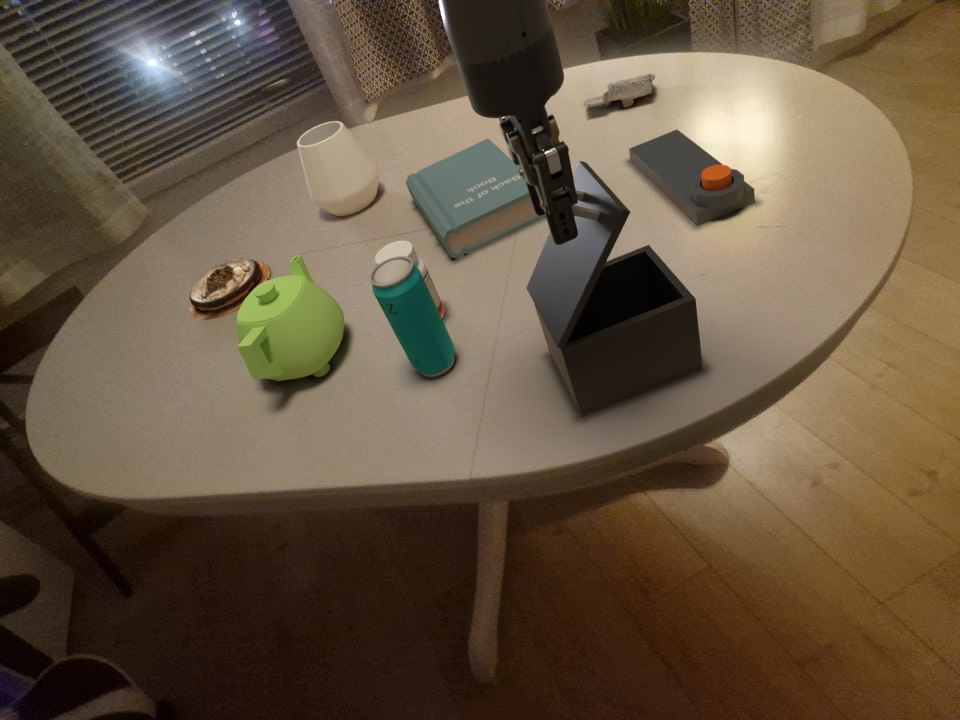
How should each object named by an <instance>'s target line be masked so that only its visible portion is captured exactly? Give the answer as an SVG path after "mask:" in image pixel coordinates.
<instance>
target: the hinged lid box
mask: <svg viewBox="0 0 960 720" xmlns="http://www.w3.org/2000/svg"><path fill="white" fill-rule="evenodd" d="M533 304H534V303H533ZM533 306H534V307H535V311H536V314H537V317H538V320H539V323H540V326H541V329H542V332H543V336H544V339H545V342H546V346H547V349H548V351H549V354H550V357H551V359H552V361H553V363H554V365H555V367H556V369H557V371H558V373H559V375H560V377H561V379H562V381H563V383H564V385H565V387H566V389H567V391H568V393H569V395H570V397H571V399H572V401H573V403H574V405H575V407H576V410H577V411H578V413H579V415H580V417H585V416H587V415H590V414H593V413H595V412H598V411H600V410H602V409H606V408H608V407H610V406H613V405H615V404H618V403H621V402H623V401H625V400H628V399H631V398H634V397H636V396H638V395H641V394H643V393H646V392H649V391H652V390H653V389H656V388H658V387H659V388H660V387H661V386H664V385H667V384H669V383H672V382H675V381H676V380H679V379H681V378H685V377H686V376H689V375H692V374H694V373H697V372H699V371H703V357H702V347H701V337H700V328H699V327H700V326H699V317H698V309H697V299H696V297H695V296H694V295H693V294H692V292H691V291H690V290H689V289H688V288H687V287H686V286H685V284H684V283H683V282H682V281H681V280H680V279H679V277H677V275H676V274H675V273H674V272H673V271H672V270H671V268H670V267H669V266H668V265H667V264H666V263H665V261H663V259H662V258H661V257H660V256H659V255H658V253H657V252H656V251H655V250H654V249H653V248H652V246H651V245H650V244H647V245H644V246H642V247H639V248H637V249H635V250H631V251H629V252H627V253H624V254H621V255H620V256H617V257H615V258H612V259H608V260H607V261H606V263H605V265H604V267H603V270H602V272H601V274H600V276H599V278H598V280H597V282H596V284H595V286H594V288H593V290H592V292H591V294H590V296H589V298H588V300H587V302H586V304H585V306H584V309H583V311H582V313H581V315H580V317H579V319H578V321H577V323H576V325H575V327H574V329H573V331H572V333H571V335H570V337H569V339H568V341H567V343H566V346H565V348H558V347H557V346H556V344H555V342H554V340H553V338H552V337H551V335H550V333H549V331H548V329H547V327H546V325H545V323H544V321H543V319H542V317H541V315H540V313H539V311H538V310H537V308H536V306H535V304H534V305H533Z"/></svg>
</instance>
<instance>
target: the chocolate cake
mask: <svg viewBox="0 0 960 720" xmlns="http://www.w3.org/2000/svg"><path fill="white" fill-rule="evenodd" d="M270 279H271V267H270V266H269V265H268V263H266V262H263V261H260V260H254V259H253V258H249V257H248V258H247V259H245V258H243V257H238V258H237V257H236V258H233V259H227V260H225V263H222V264H219V265H218V266H217V263H216V264H215V265H214V266H212V267H211V268H210V269H208V271H206V272H205V273H204V274H202V275H201V276H200V277H199V278H198V279H197V281H196V282H195V284H194V285H193V287H192V288H191V290H190V293H189V297H188V299H189V302H190V305H189V310H190V313H191V315H192V316H193V317H195V318H197V319H199V320H212V319H217V318H220V317H221V318H222V317H224V316H226V315H228V314H231V313H233V312H235V311H237V310H239V309H240V307H241V305H242V303H243V301H244V300H245V299H246V297H247V296H248V295H249V294H250V293H251V291H252V290H253V289H255V288H256V287H257V286H258V285H260V284H261V283H263V282H265V281H267V280H270Z"/></svg>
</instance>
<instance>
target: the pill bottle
mask: <svg viewBox="0 0 960 720" xmlns="http://www.w3.org/2000/svg"><path fill="white" fill-rule="evenodd" d="M396 256H406V257H409V258H410V259H411V260H412V261H413V264H414V265H415V266H416V267H417V268H419V270H420V272H421V274H422V276H423V279H424V281H425V283H426V285H427V287H428V290H429V292H430V294H431V296H432V298H433V301H434V303H435V305H436V307H437V309H438V311H439V314H440V316H441V318H442V319H444V315H445V307H444V304H443V302H442V299H441V297H440V295H439V293H438V291H437V289H436V286H435V283H434V281H433V279H432V277H431V275H430V272H429V270H428V267H427V265H426V263H425V262H424V260H423V259H421V258H420V257H419V256H418V253H417V251H416V250H415V248H414V245H413V244H412V242H410V241H408V240H397V241H392V242H391V243H388V244H386V245H384V246H383V247H382V248H380V249H379V250H378V251H377V253H376V254H375V256H374V262H375V264H376V266H377V265H378V264H380V263H381V262H383V261H385V260H387V259H389V258H392V257H396Z"/></svg>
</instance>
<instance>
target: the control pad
mask: <svg viewBox="0 0 960 720" xmlns="http://www.w3.org/2000/svg"><path fill="white" fill-rule="evenodd" d="M628 152H629V160H630V162H631V163H632V164H633V165H634V166H635V167H636V168H637V169H638V170H639V171H640V172H641V173H642V174H643V175H644V176H645V177H646V178H647V179H648V180H649V181H650V182H651V183H652V184H654V185H655V187H657V188H658V189H659V190H660V191H661V192H662V194H664V195H665V196H666V197H667V198H668V200H670V201H671V202H672V203H673V204H674V205H675V206H676V207H677V208H678V209H680V210H681V211H682V212H683V214H685V215H686V216H687V217H688V218H689V219H690V220H691V221H692V222H693V223H694V224H695V225H696V226H700V225H703V224H706V223H708V222H711V221H714V220H716V219H718V218H721V217H723V216H726V215H729V214H730V213H733V212H736V211H739V210H741V209H744V208H745V207H749V206H750V205H753V204H755V203H756V200H755V199H756V198H755V197H756V196H755V195H756V194H755V188H754V187H753V186H752V185H750V184H749V183H748V182H746V181H745V175H744V174H743V173H742V172H741V171H739V170H738V169H735V168H731V174H732V183H731V185H730V186H729V187H728V188H725V189H723V190H718V191H707V190H705V189H704V188H703V187H702V176H701V174H702V172H703V170H705V169H706V168H708V167H710V166H713V165H724V164H723V163H721V161H719V160H718V159H716V157H713V156H712V155H711V154H710V153H709V152H707V151H706V150H705V149H703V148H702V147H701V146H700V145H698V144H697V143H695V142H694V141H693V140H692V139H691V138H689V137H688V136H686V135H685V134H684V133H682V132H681V131H680V130H679V129H674V130H671V131H670V132H669V131H668V132H667V133H665V134H662V135H660V136H659V135H658V136H657V137H655V138H652V139H650V140H647V141H645V142H641V143H640V144H636V145H634V146H632V147H629V148H628Z"/></svg>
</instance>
